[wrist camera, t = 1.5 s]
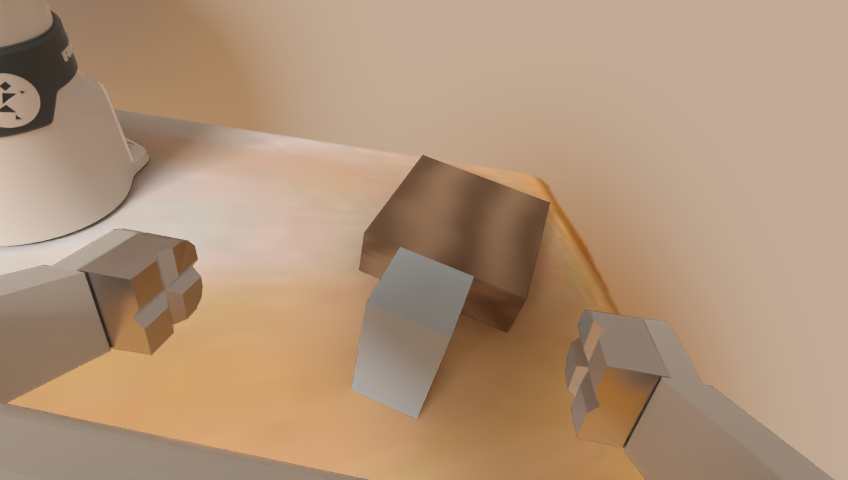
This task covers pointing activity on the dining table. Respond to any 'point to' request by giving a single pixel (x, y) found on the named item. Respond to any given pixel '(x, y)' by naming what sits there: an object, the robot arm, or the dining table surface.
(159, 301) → the robot arm
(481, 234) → the walnut block
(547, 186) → the dining table surface
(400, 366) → the slate block
